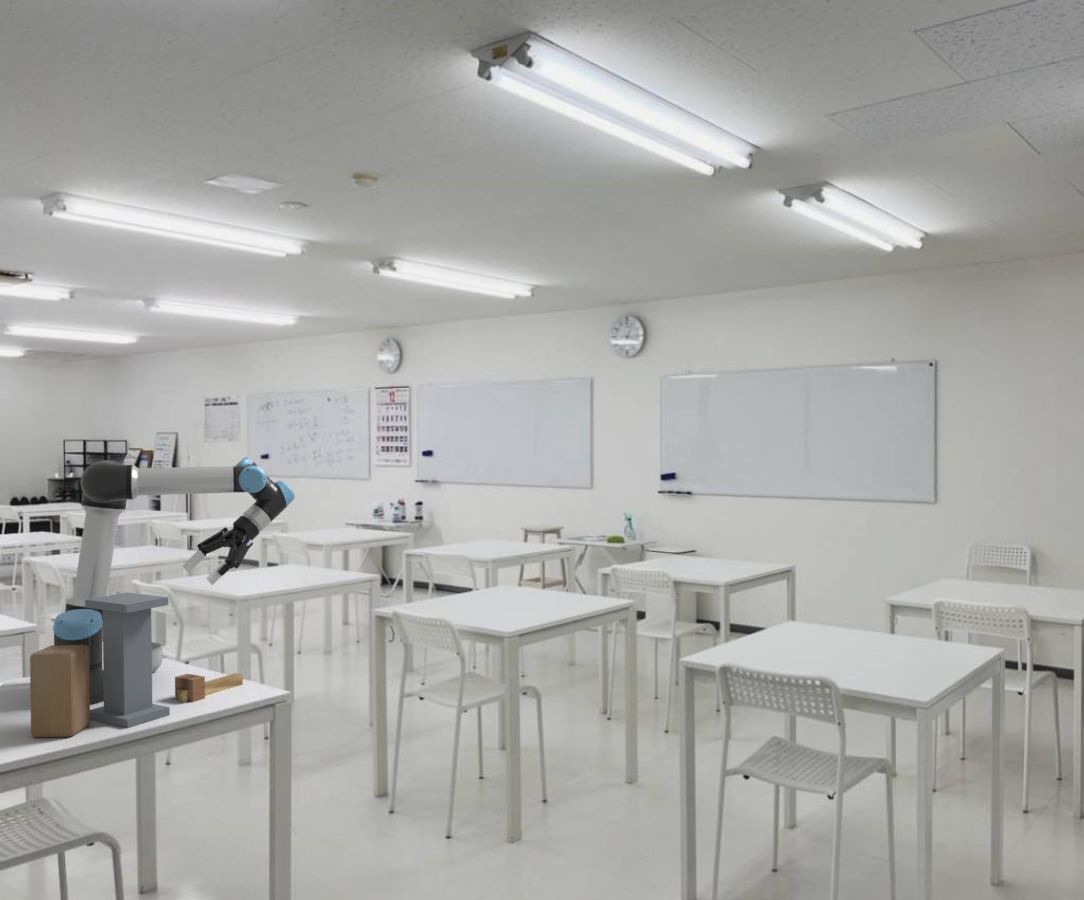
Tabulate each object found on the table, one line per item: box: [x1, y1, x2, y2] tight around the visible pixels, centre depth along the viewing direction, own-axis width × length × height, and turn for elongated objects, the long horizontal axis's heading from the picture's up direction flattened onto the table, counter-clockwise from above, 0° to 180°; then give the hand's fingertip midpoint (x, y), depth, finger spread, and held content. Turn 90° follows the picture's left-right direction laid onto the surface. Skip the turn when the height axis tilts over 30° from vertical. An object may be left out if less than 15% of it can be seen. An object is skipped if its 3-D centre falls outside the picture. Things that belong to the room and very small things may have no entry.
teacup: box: [152, 641, 163, 673], centre depth 279 cm, size 14×11×8 cm
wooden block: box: [29, 644, 91, 739], centre depth 221 cm, size 10×10×20 cm
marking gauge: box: [174, 672, 244, 703], centre depth 255 cm, size 7×20×6 cm, turn 150°
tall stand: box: [85, 592, 171, 729], centre depth 233 cm, size 16×12×30 cm
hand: (197, 575), depth 264 cm, fingers open, 13 cm apart
